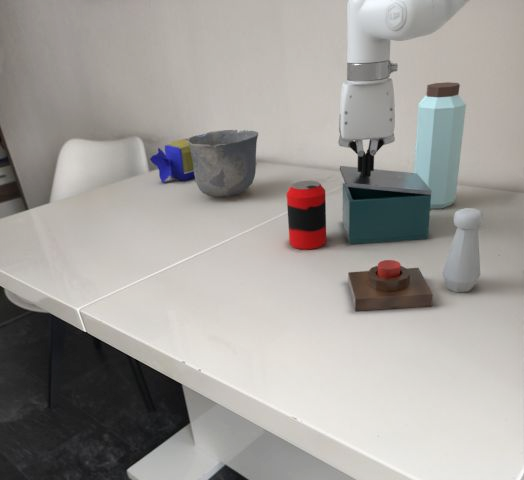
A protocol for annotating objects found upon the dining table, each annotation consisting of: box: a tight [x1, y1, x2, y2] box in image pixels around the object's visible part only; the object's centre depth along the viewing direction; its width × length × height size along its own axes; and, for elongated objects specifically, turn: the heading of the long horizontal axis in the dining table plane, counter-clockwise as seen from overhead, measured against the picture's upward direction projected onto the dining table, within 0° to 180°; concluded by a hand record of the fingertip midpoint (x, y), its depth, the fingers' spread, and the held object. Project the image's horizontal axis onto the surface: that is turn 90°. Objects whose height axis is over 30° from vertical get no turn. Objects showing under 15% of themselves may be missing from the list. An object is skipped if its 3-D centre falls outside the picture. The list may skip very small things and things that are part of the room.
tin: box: [342, 182, 431, 245], centre depth 111 cm, size 16×13×9 cm
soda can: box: [286, 180, 327, 251], centre depth 108 cm, size 8×8×12 cm
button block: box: [347, 265, 434, 312], centre depth 88 cm, size 12×10×4 cm
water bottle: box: [413, 81, 467, 210], centre depth 118 cm, size 10×10×25 cm
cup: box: [188, 129, 259, 198], centre depth 140 cm, size 18×18×15 cm
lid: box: [339, 165, 432, 195], centre depth 108 cm, size 16×13×1 cm
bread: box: [149, 133, 205, 183], centre depth 163 cm, size 10×25×10 cm, turn 130°
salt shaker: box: [442, 207, 484, 293], centre depth 86 cm, size 6×6×13 cm
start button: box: [377, 259, 402, 278], centre depth 87 cm, size 4×4×2 cm
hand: (365, 174), depth 107 cm, fingers closed
